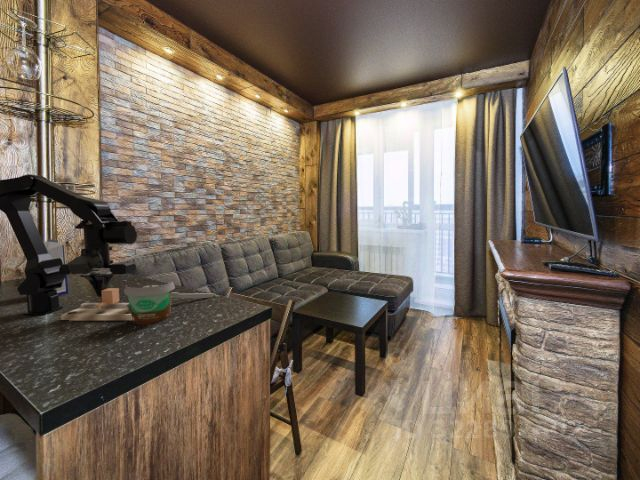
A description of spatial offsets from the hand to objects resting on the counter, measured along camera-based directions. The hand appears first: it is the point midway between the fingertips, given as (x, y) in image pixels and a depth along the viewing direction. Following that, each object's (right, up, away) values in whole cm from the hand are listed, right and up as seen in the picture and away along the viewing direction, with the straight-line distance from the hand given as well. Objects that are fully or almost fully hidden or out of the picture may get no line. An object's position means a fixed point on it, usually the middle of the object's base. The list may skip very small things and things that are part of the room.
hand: (100, 296), depth 89 cm
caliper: (+21, -4, +10) cm, 24 cm away
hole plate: (+3, -5, -1) cm, 6 cm away
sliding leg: (+3, -3, -2) cm, 4 cm away
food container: (+19, -6, -7) cm, 21 cm away
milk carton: (-31, -3, +18) cm, 36 cm away
